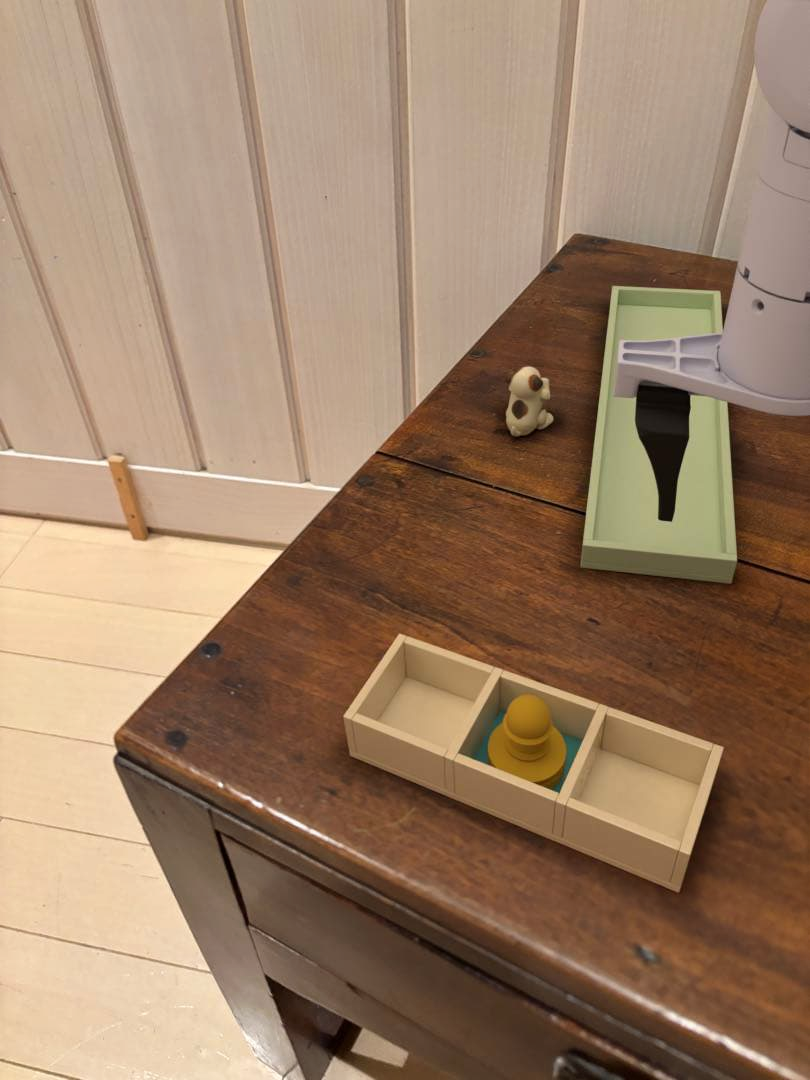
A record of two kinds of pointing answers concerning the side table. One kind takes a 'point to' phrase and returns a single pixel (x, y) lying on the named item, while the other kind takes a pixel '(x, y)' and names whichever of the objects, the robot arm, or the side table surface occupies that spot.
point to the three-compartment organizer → (559, 814)
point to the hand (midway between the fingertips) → (742, 516)
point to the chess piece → (528, 743)
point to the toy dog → (527, 401)
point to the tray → (626, 472)
